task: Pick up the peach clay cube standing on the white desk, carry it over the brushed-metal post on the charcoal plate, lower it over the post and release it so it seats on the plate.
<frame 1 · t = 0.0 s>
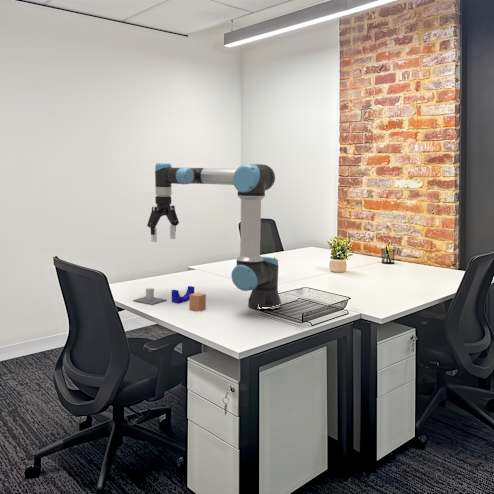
hand: (163, 240, 253), 28 cm above the table, fingers open, 13 cm apart
stand: (149, 301, 248), on the table
peach clay cube: (197, 309, 235), on the table
blue arch bracket: (184, 301, 250), on the table
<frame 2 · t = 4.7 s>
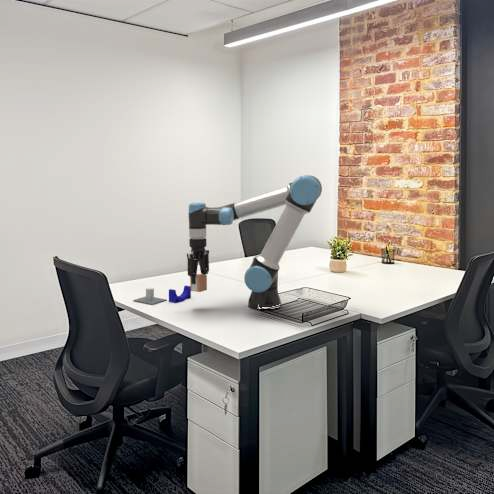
hand: (199, 289, 234), 9 cm above the table, fingers closed on peach clay cube, 5 cm apart
peach clay cube: (198, 290, 234), point 9 cm above the table, touching gripper
blue arch bracket: (181, 300, 251), on the table
when the fingers open (2 cm above the table, at t = 9.1 s): peach clay cube stays where it is, resting on stand.
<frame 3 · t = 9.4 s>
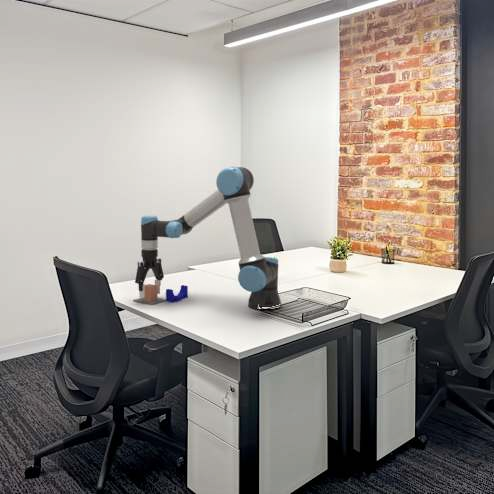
hand: (149, 295, 248), 3 cm above the table, fingers open, 10 cm apart
peach clay cube: (149, 299, 248), point 1 cm above the table, touching stand
blue arch bracket: (178, 300, 252), on the table
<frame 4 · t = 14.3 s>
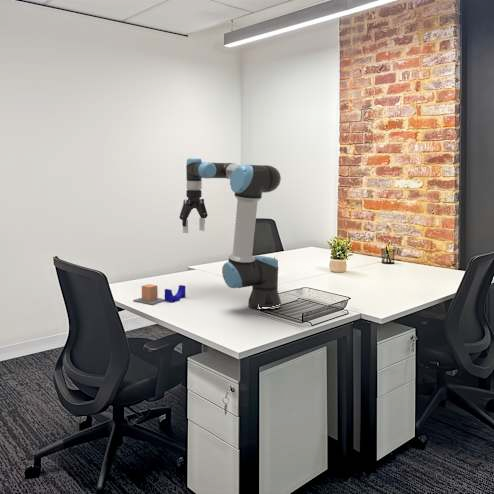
hand: (193, 231, 266), 31 cm above the table, fingers open, 13 cm apart
at the end: peach clay cube 0.2 cm from the stand (horizontally); peach clay cube point 0.6 cm above the table; the gripper is holding nothing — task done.
